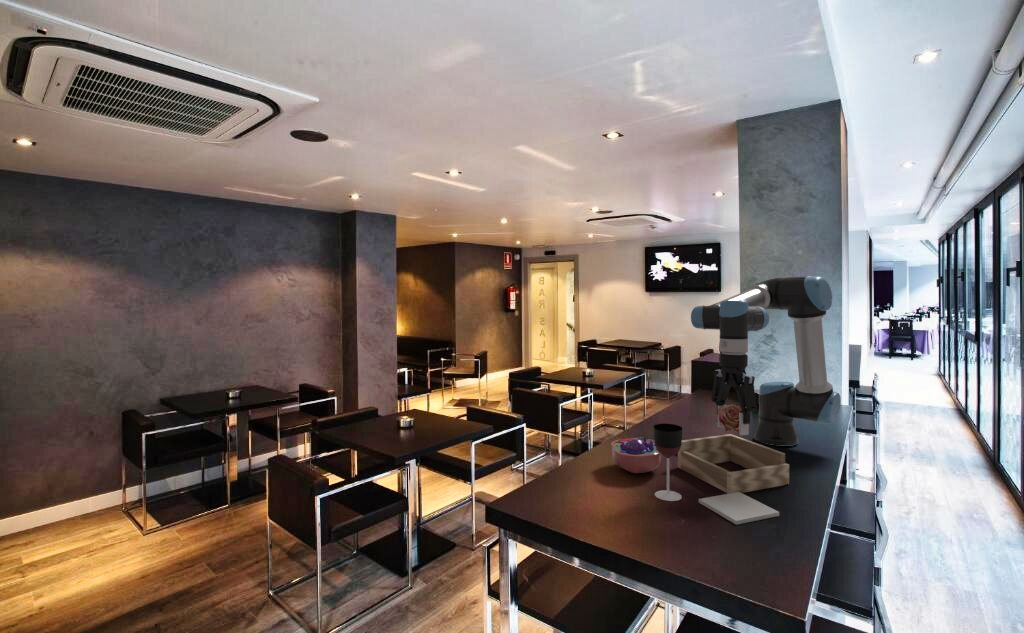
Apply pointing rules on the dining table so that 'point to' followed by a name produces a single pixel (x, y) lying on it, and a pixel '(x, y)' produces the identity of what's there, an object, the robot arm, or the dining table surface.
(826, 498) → the dining table surface
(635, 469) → the cell model
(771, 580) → the dining table surface
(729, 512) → the tile
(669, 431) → the wineglass
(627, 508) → the dining table surface
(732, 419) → the flower
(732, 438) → the frame
